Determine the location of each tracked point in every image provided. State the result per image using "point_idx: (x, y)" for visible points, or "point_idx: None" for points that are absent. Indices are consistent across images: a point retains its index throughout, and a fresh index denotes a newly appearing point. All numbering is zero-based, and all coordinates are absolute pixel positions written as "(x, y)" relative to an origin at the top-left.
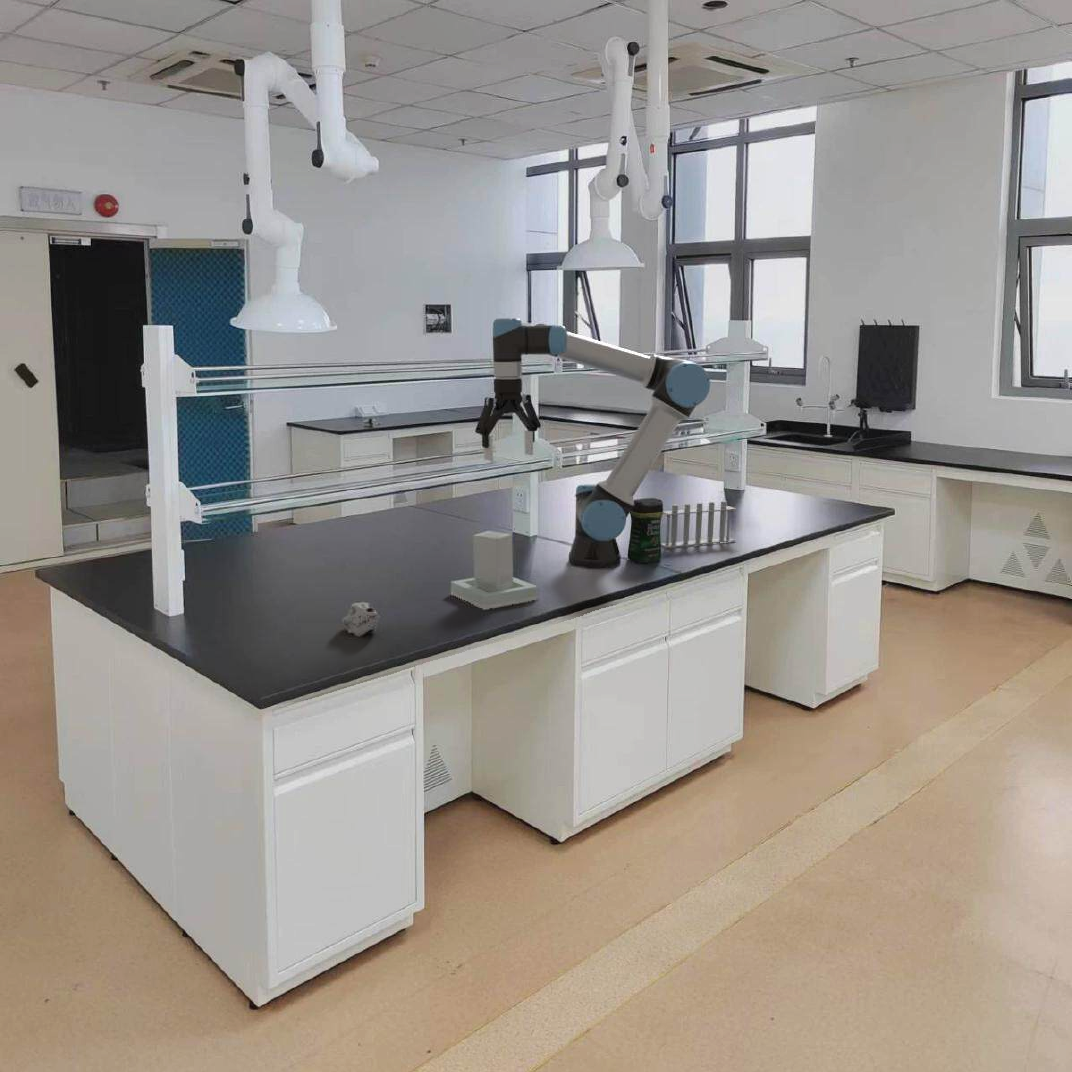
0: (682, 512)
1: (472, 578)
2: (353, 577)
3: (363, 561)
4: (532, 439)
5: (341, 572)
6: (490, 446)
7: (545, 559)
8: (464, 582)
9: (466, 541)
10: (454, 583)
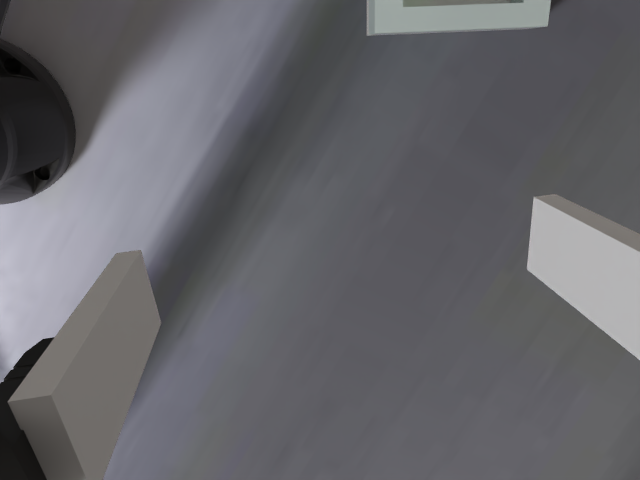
0: None
1: (481, 23)
2: None
3: (509, 382)
4: (65, 330)
5: (593, 325)
6: (638, 236)
7: (120, 222)
8: (518, 3)
9: (228, 445)
10: (550, 3)
